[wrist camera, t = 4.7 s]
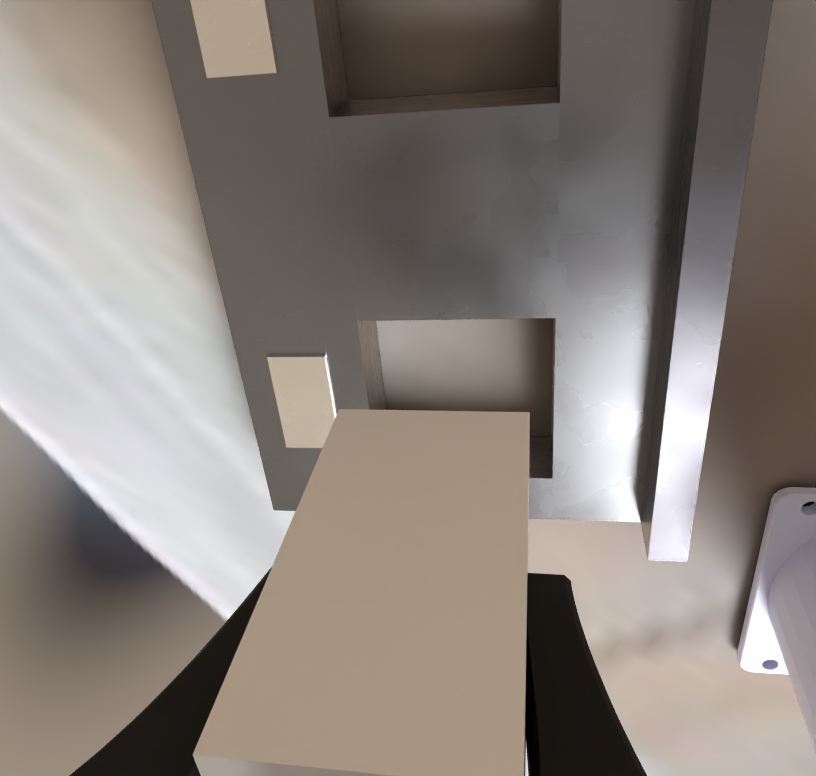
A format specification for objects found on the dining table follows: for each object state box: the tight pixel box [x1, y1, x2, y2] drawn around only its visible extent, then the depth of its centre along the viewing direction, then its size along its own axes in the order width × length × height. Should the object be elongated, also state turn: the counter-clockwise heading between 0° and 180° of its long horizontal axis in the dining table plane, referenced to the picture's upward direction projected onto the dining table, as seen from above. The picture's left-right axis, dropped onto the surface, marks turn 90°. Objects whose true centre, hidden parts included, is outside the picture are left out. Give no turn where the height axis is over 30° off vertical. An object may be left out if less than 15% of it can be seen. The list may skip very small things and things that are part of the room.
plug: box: [193, 409, 530, 776], centre depth 11 cm, size 4×4×8 cm
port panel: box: [152, 0, 773, 562], centre depth 17 cm, size 12×18×4 cm, turn 5°
